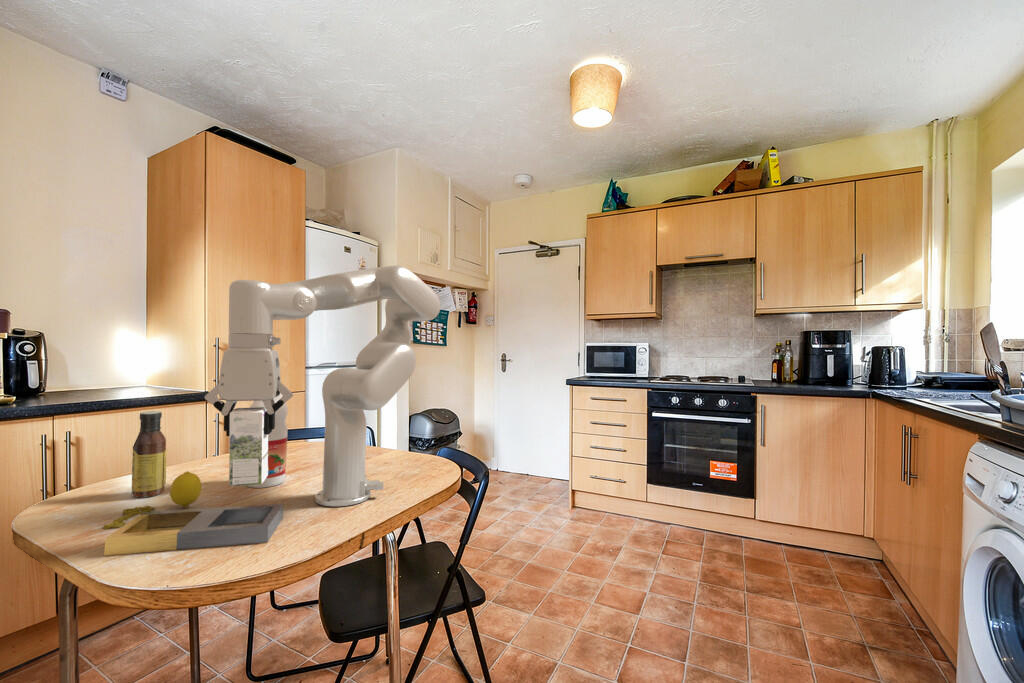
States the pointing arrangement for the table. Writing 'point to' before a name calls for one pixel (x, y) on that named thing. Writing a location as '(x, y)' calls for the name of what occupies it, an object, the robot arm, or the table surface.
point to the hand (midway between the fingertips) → (249, 433)
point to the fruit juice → (275, 447)
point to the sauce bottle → (149, 457)
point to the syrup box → (247, 447)
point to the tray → (195, 529)
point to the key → (128, 516)
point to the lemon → (185, 489)
